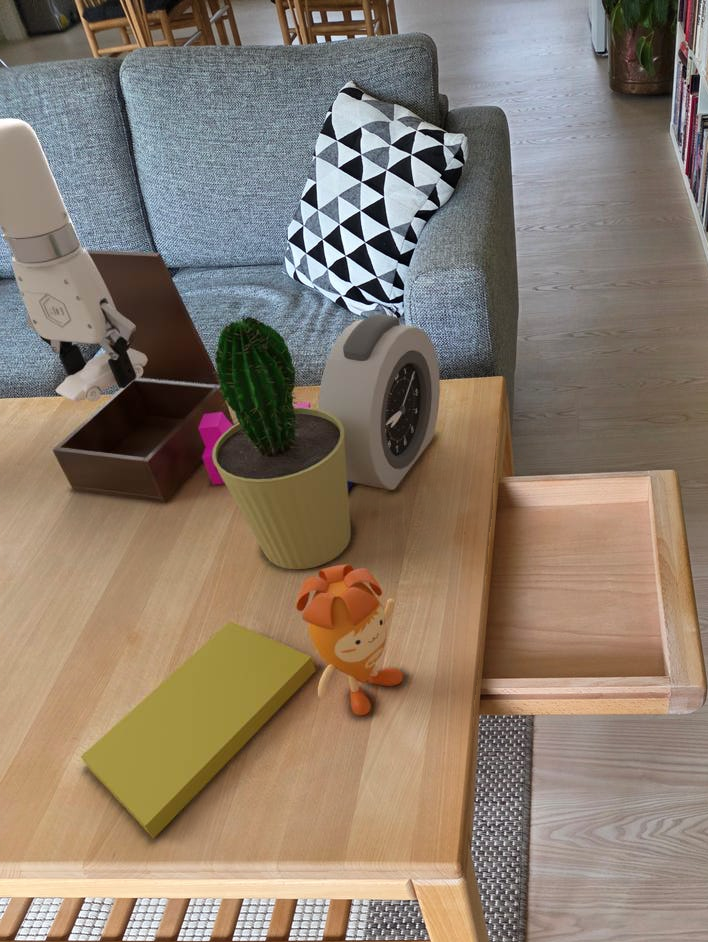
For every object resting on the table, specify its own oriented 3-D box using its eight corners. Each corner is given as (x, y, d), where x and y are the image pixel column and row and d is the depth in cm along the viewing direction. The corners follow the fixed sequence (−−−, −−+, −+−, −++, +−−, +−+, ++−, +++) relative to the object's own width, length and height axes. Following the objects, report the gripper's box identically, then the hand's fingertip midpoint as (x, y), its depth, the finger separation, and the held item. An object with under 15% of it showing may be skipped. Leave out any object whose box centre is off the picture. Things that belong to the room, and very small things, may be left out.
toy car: (56, 399, 113) (45, 376, 111) (131, 359, 119) (122, 336, 117) (80, 411, 111) (69, 387, 108) (155, 369, 117) (147, 346, 114)
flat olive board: (235, 634, 100) (70, 786, 87) (230, 620, 99) (61, 774, 85) (315, 670, 95) (153, 838, 82) (311, 656, 93) (145, 826, 80)
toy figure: (351, 739, 88) (318, 636, 77) (299, 705, 92) (260, 602, 81) (428, 668, 94) (408, 562, 83) (376, 638, 98) (350, 534, 87)
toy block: (212, 484, 122) (194, 438, 117) (221, 459, 126) (203, 414, 121) (317, 473, 121) (304, 426, 116) (322, 448, 125) (309, 402, 120)
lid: (157, 256, 111) (160, 252, 111) (57, 252, 115) (60, 248, 115) (218, 384, 127) (221, 381, 128) (129, 376, 131) (132, 373, 132)
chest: (165, 503, 120) (147, 461, 115) (73, 490, 124) (52, 449, 119) (234, 426, 133) (221, 385, 128) (148, 417, 137) (132, 377, 132)
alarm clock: (380, 508, 115) (357, 371, 100) (330, 497, 117) (301, 361, 102) (444, 422, 128) (432, 291, 114) (398, 414, 130) (381, 284, 116)
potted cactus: (333, 590, 104) (267, 358, 83) (225, 569, 109) (135, 344, 87) (387, 513, 114) (339, 287, 92) (285, 496, 118) (217, 278, 97)
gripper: (-36, 252, 102) (33, 389, 114) (85, 259, 97) (143, 401, 110) (6, 227, 107) (68, 361, 119) (124, 232, 102) (175, 371, 115)
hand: (103, 379), depth 114 cm, fingers closed on toy car, 6 cm apart
